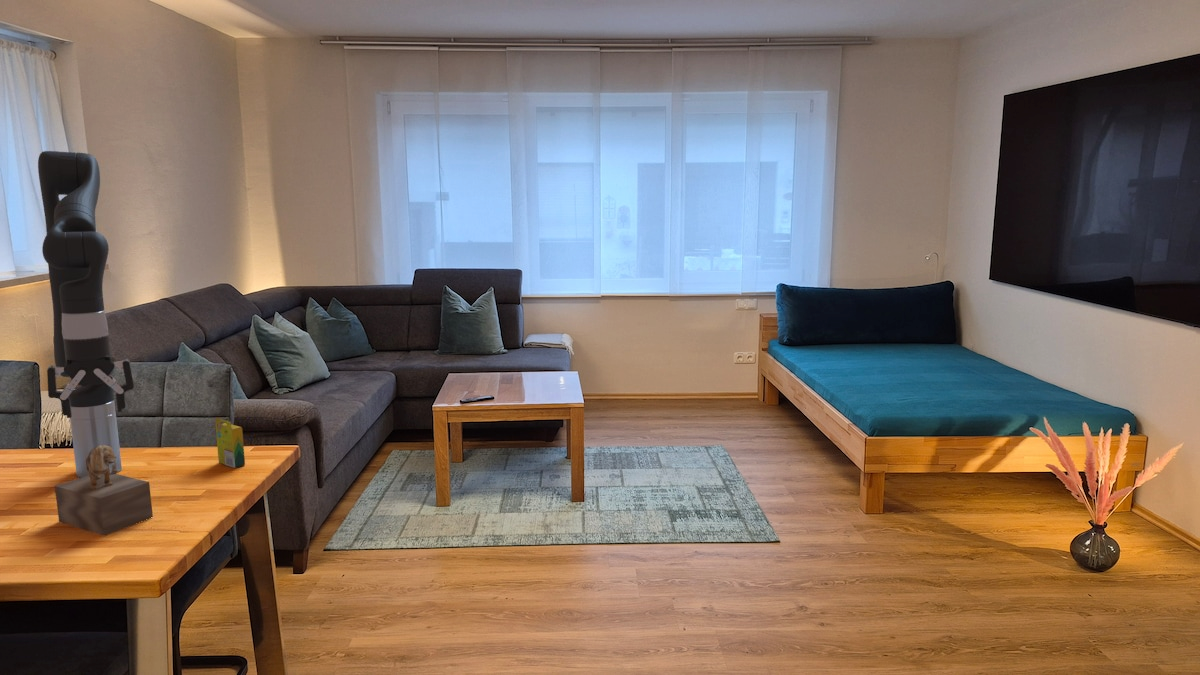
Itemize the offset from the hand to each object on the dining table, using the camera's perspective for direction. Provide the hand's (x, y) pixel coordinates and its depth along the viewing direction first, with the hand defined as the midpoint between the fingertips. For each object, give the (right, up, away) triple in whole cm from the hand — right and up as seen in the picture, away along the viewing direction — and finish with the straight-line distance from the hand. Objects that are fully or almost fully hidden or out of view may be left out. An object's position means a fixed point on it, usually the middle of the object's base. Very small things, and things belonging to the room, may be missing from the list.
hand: (94, 414), depth 159 cm
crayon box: (+10, -16, +38) cm, 42 cm away
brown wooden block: (0, -22, +4) cm, 23 cm away
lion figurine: (0, -14, +4) cm, 15 cm away
